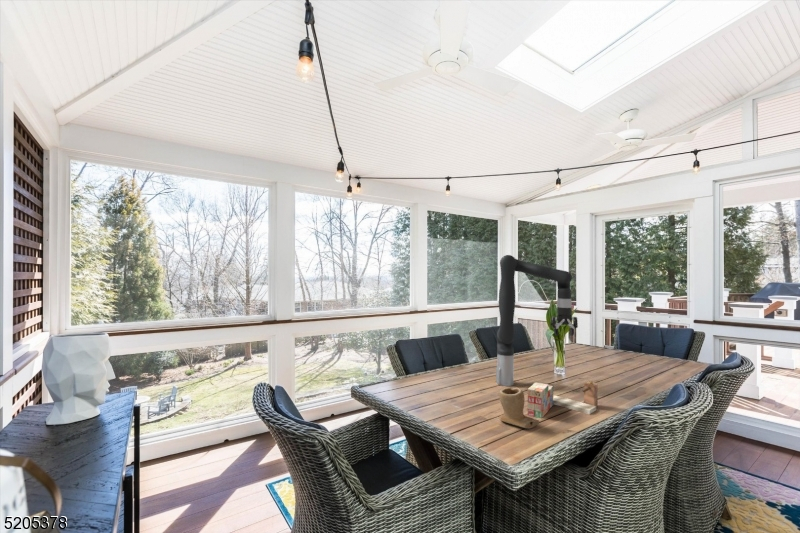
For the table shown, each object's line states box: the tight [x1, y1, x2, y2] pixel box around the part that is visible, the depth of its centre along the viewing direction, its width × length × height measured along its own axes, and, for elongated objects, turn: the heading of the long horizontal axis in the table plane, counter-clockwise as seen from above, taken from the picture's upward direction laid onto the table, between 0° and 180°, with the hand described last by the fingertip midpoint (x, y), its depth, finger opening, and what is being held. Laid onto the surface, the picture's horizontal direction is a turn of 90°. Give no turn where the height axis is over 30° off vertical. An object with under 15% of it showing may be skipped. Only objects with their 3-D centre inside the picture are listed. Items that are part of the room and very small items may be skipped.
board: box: [553, 394, 597, 415], centre depth 176 cm, size 20×8×2 cm, turn 42°
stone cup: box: [498, 386, 540, 430], centre depth 154 cm, size 15×12×15 cm
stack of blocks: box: [527, 382, 554, 419], centre depth 171 cm, size 21×6×12 cm, turn 144°
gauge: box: [582, 381, 599, 408], centre depth 174 cm, size 11×4×12 cm, turn 132°
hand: (564, 335), depth 203 cm, fingers open, 8 cm apart
